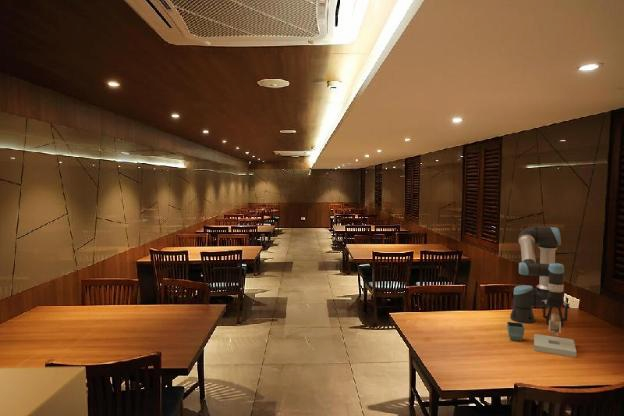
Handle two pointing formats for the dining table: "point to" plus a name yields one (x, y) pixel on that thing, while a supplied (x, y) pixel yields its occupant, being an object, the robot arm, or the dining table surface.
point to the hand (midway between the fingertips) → (554, 331)
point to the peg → (554, 323)
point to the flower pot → (515, 330)
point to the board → (554, 345)
